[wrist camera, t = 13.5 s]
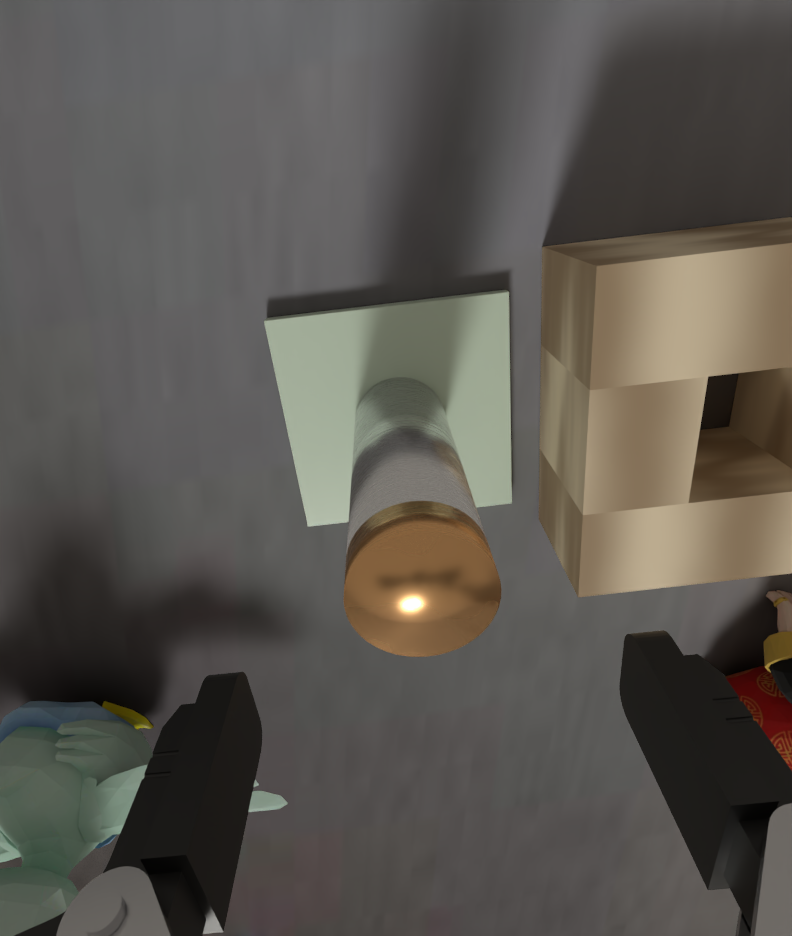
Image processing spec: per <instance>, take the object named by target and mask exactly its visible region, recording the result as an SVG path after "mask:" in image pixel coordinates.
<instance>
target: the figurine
mask: <svg viewBox="0 0 792 936" xmlns="http://www.w3.org/2000/svg"><path fill="white" fill-rule="evenodd" d="M766 597H767V598H769V599H770V600H771V601H773V603H774V607H776V608H777V609H778V619H777V627H778V633H775V634H772V635H769V636H768V638H767V639H766V640H765V641H764V662H765V666H760V667H756V668H753V669H750V670H746V671H742V672H739V673H735V674H732V675H728V676H725V678H726V679H727V681H728V682H729V683H730V685H731V686H732V688H733V689H734V690H735V692H736V693H737V695H738V696H739V700H740V701H742V702H743V703H744V704H745V706H746V707H747V709H748V710H749V711H750V713H751V714H752V716H753V720H754V721H757V723H758V724H759V725H760V727H761V728H762V730H763V731H764V732H765V734H766V735H767V737H768V738H769V739H770V741H771V742H772V744H773V745H774V746H775V748H776V749H777V751H778V752H779V753H780V755H781V756H782V758H783V759H784V760H785V762H786V763H787V765H788V766H789V767H790V769H791V770H792V594H791V593H786V592H785V591H780V590H777V591H776V592H775V591H769V592H768V593H767V594H766Z"/></svg>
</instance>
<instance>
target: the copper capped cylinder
mask: <svg viewBox="0 0 792 936" xmlns="http://www.w3.org/2000/svg"><path fill="white" fill-rule="evenodd" d="M500 599H501V583H500V579H499V575H498V572H497V569H496V566H495V563H494V560H493V557H492V554H491V551H490V548H489V545H488V542H487V539H486V536H485V533H484V530H483V527H482V524H481V521H480V518H479V515H478V512H477V508H476V505H475V502H474V499H473V496H472V493H471V490H470V487H469V484H468V481H467V478H466V475H465V472H464V469H463V466H462V463H461V460H460V457H459V454H458V451H457V448H456V445H455V442H454V439H453V436H452V433H451V430H450V427H449V424H448V421H447V417H446V414H445V411H444V408H443V405H442V403H441V401H440V399H439V397H438V396H437V394H436V393H435V392H434V391H433V390H432V389H431V388H430V387H429V386H427V385H426V384H424V383H422V382H420V381H418V380H415V379H412V378H406V377H395V378H389V379H386V380H383V381H381V382H379V383H377V384H375V385H374V386H372V387H371V388H370V389H369V390H368V391H367V392H366V393H365V394H364V395H363V397H362V398H361V400H360V402H359V404H358V407H357V410H356V414H355V430H354V445H353V461H352V477H351V492H350V508H349V523H348V539H347V555H346V570H345V586H344V607H345V611H346V614H347V617H348V619H349V621H350V623H351V625H352V626H353V628H354V629H355V630H356V631H357V633H358V634H359V635H360V636H361V637H363V638H364V639H365V640H366V641H367V642H369V643H371V644H372V645H374V646H375V647H377V648H380V649H382V650H384V651H387V652H390V653H393V654H397V655H403V656H411V657H424V656H433V655H439V654H443V653H447V652H450V651H453V650H455V649H458V648H460V647H462V646H464V645H466V644H467V643H469V642H471V641H472V640H474V639H475V638H476V637H477V636H479V635H480V634H481V633H482V632H483V631H484V630H485V629H486V628H487V627H488V625H489V624H490V623H491V621H492V620H493V618H494V616H495V615H496V612H497V610H498V607H499V604H500Z"/></svg>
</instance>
